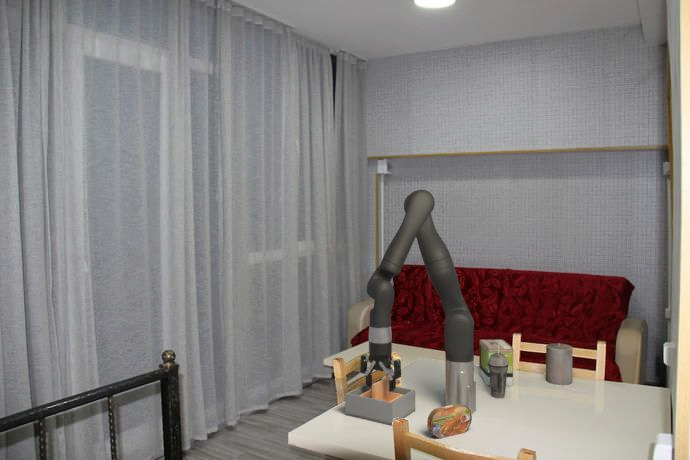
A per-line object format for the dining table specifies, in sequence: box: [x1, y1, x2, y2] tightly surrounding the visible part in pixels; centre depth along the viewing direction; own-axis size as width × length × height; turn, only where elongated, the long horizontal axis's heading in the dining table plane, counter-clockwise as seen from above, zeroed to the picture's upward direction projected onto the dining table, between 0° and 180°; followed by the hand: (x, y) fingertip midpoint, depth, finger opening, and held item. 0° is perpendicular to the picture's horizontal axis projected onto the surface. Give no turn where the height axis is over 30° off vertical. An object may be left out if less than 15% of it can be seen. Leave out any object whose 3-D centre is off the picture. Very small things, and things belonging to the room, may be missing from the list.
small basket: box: [359, 377, 403, 402], centre depth 187 cm, size 12×10×10 cm
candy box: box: [385, 351, 402, 387], centre depth 202 cm, size 9×4×15 cm, turn 8°
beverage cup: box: [488, 339, 509, 399], centre depth 203 cm, size 7×7×20 cm
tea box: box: [478, 339, 514, 387], centre depth 222 cm, size 15×10×15 cm
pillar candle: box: [545, 342, 574, 386], centre depth 220 cm, size 10×10×15 cm
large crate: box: [344, 381, 416, 427], centre depth 187 cm, size 18×16×7 cm
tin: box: [426, 404, 473, 439], centre depth 169 cm, size 15×3×8 cm, turn 117°
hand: (380, 388), depth 187 cm, fingers open, 8 cm apart
